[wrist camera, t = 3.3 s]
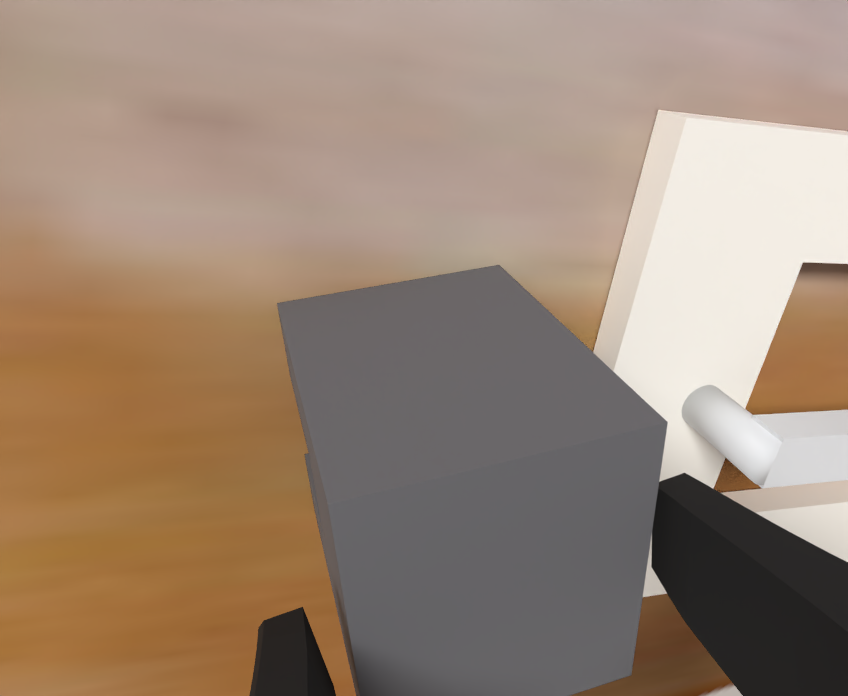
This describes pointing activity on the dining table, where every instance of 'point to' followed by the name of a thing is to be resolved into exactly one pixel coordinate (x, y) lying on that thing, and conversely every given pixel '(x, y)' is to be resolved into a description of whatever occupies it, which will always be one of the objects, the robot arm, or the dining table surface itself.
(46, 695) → the dining table surface
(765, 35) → the dining table surface
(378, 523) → the notched grey block
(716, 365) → the cream frame with handle
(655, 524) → the robot arm
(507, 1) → the dining table surface
